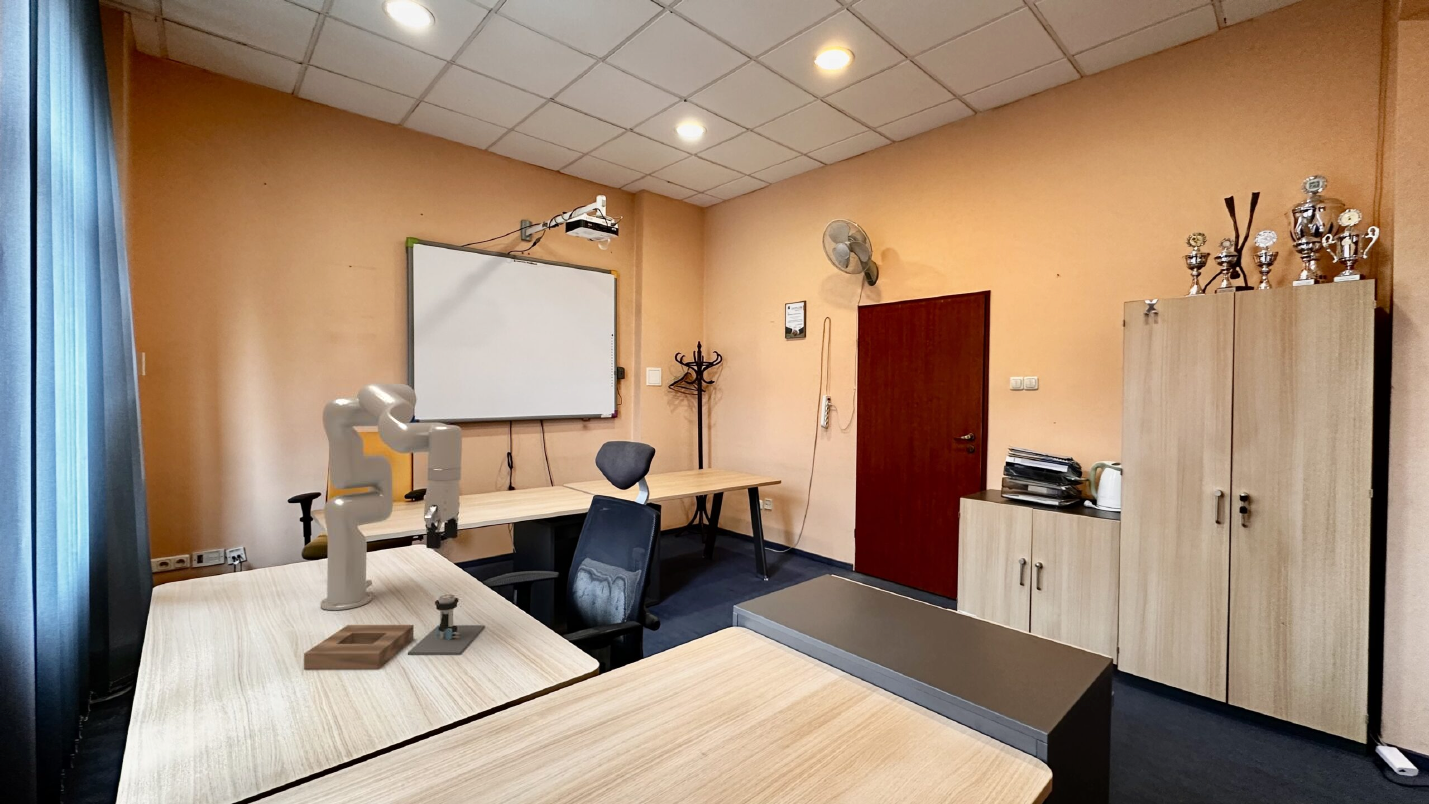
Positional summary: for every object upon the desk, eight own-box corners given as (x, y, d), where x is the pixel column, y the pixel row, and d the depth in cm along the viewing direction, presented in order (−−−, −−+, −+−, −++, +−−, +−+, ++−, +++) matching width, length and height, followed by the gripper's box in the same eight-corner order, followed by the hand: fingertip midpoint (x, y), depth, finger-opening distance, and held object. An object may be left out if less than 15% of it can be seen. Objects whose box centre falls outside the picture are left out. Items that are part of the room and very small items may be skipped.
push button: (466, 636, 143) (467, 596, 143) (449, 644, 138) (449, 602, 138) (447, 631, 146) (448, 592, 146) (429, 639, 141) (430, 598, 141)
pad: (438, 627, 149) (438, 625, 149) (484, 627, 150) (484, 625, 150) (407, 654, 133) (407, 652, 133) (459, 654, 134) (460, 652, 134)
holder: (347, 638, 142) (347, 624, 142) (413, 638, 142) (413, 624, 142) (303, 669, 126) (304, 653, 126) (378, 669, 126) (378, 653, 126)
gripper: (444, 469, 151) (442, 533, 151) (412, 479, 134) (410, 552, 134) (472, 470, 151) (470, 534, 152) (444, 480, 134) (442, 553, 135)
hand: (442, 542), depth 143 cm, fingers open, 9 cm apart
